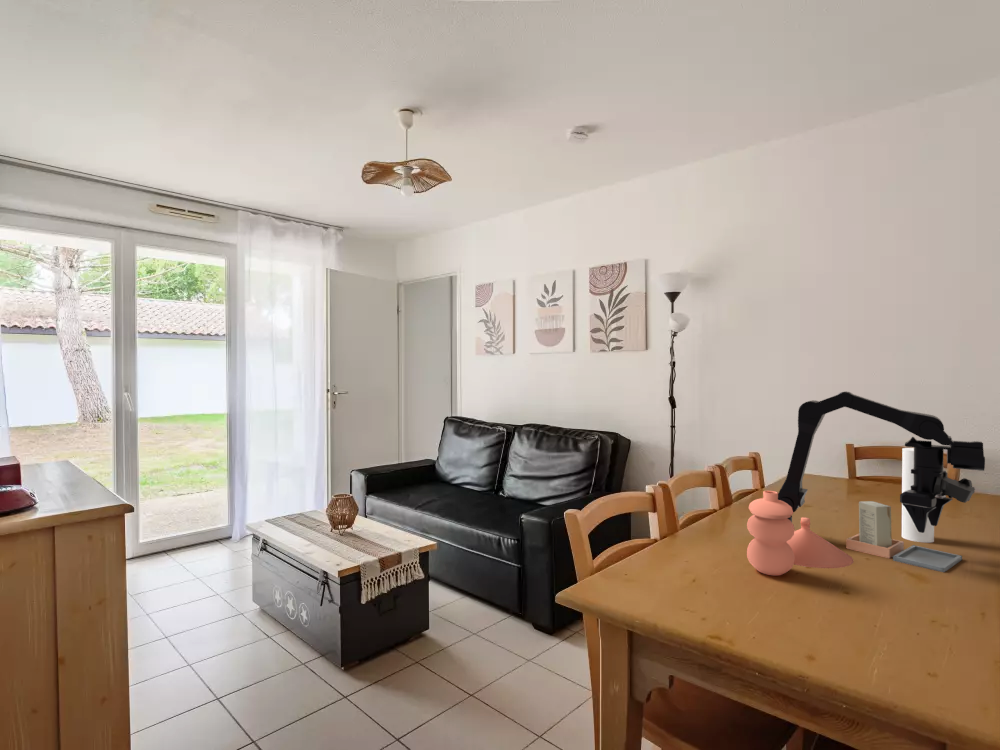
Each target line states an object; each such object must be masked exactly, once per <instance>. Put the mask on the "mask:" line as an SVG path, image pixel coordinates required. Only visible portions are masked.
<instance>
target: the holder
mask: <svg viewBox="0 0 1000 750" xmlns="http://www.w3.org/2000/svg"><path fill="white" fill-rule="evenodd" d="M845 540H846V542H845V544H846V545H845V547H846V549H848V550H851V551H857V552H860V553H864V554H869V555H873V556H878V557H882V558H886V559H891V558H893V556H894V555H896V554H898V553H900V552H902V551H903V550H905V549H904V548H905V547H904V545H905V544H904V541H902V540H899V539H894V538H893V539H892V546H890V547H888V548H885V547H881V546H877V545H872V544H868V543H864V542H860V541H859V533H857V534H855V535H853V536H850V537H848V538H846V539H845Z"/></svg>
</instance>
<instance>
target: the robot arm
mask: <svg viewBox="0 0 1000 750" xmlns="http://www.w3.org/2000/svg"><path fill="white" fill-rule="evenodd" d="M842 408H847V409H851V410H854V411H857V412H860V413H862V414H866V415H869V416H872V417H874V418H876V419H880V420H884V421H886V422H889V423H891V424H895V425H897V426H898V427H900V428H902V429H904V430H905V431H906V432H907V431H908V432H909V433H911V434H913V435H915V436H917V437H919V438H920V439H921V440H917V438H915V437H914V436H912V437H911V438H910V439H909V440H908V441H906V442H904V447H905V448H914V469H911V474H914V485H912V486H911V490H908V491H905V492H903V493H902V492H901V493H900V494H899V503H901V505H902V504H903V506H905V508H906V510H907V511H908V513H909V515H910V517H911V518H912V520H913V522H914V524H915V526H916V528H917V530H918V532H921V533H924V532H925V528H926V523H927V518H929V521H930V523H931V525H932V526H934V527H936V526H938V523H939V520H940V517H941V515H942V512H943V509H944V506H945V505H946V504H948V503H950V502H952V501H953V499H955V500H956V501H958V502H961V503H967V502H969V501H970V500H971V498H972V496H973V494H975V490H976V489H975V486H973V483H972V480H970V479H967V478H964V477H963V478H961V479H960V480H957V479H953V478H950V477H948V472H947V470H944V450H946V464H948V465H950V466H952V468H953V469H959V470H968V471H969V470H971V471H982V472H984V471H985V468H986V467H985V466H986V457H985V453H984V452H985V451H984V442H982V441H980V440H978V441H977V440H976V441H975V440H974V441H973V440H972V441H963V440H953V437H952V436H951V435H949V434H948V433H946V431H945V427H944V423H943V421H942V420H941V418H939V417H937V416H936V415H934V414H928V413H921V412H916V411H911V410H910V411H909V410H903V409H899V408H897V407H893V406H890V405H887V404H884V403H881V402H878V401H875V400H872V399H869V398H866V397H864V396H859V395H857V394H853V393H852V392H850V391H842V392H839V393H838V394H836V395H833V396H831V397H828V398H824V399H822V400H819V401H818V400H809V401H805V402H803V403H802V404H800V406H799V407H798V413H797V414H798V415H797V428H798V430H797V435H796V439H795V444H794V448H793V451H792V454H791V459H790V464H789V467H788V471H787V475H786V478H785V481H784V482H783V484H782V485H781V487H780V489H779V491H778V500H781V501H783V502H785V503H787V504H788V505H790V506H791V507H792V510H793V513H795V512H797V510H798V509H799V508H802V507H803V505H804V504H805V503H806V502H805V497H806V495H807V493H808V491H809V490H808V488H803V480H804V476H805V471H806V469H807V464H808V460H809V457H810V453H811V448H812V445H813V441H814V438H815V434H816V432H817V431H818V429H819V427H820V425H821V423H823V420H824V417H825V415H827V414H828V413H831V412H834V411H837V410H840V409H842ZM922 439H923V440H922ZM932 441H935V442H937V443H938V445H937V444H933V443H932ZM787 519H789V520H790V521H791V522H792V523H793V514H792V515H791V517H790V518H787Z"/></svg>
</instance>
